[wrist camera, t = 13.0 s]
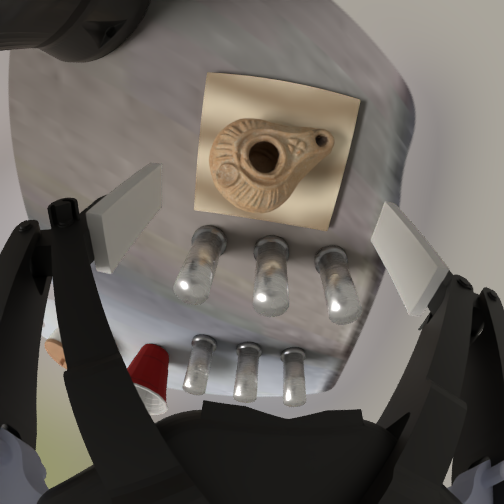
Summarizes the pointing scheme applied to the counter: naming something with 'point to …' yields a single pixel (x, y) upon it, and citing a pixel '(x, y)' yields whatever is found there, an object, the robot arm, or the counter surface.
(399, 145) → the counter surface
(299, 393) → the posts
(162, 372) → the plastic cup
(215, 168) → the pottery oil lamp
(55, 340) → the lidded jar
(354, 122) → the ash board
